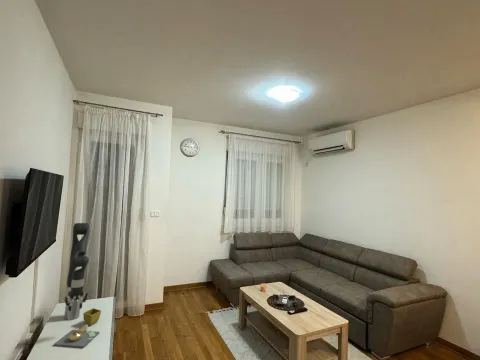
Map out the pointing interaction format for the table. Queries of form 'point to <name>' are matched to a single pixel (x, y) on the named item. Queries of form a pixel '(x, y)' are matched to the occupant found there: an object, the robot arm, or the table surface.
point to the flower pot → (91, 316)
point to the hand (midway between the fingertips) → (75, 309)
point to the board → (85, 340)
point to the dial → (77, 334)
